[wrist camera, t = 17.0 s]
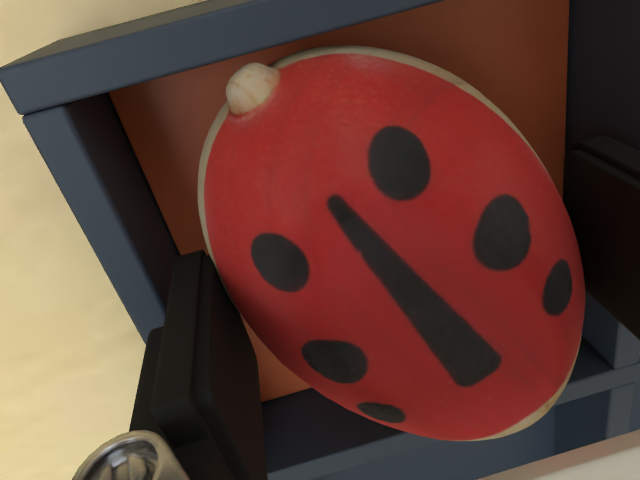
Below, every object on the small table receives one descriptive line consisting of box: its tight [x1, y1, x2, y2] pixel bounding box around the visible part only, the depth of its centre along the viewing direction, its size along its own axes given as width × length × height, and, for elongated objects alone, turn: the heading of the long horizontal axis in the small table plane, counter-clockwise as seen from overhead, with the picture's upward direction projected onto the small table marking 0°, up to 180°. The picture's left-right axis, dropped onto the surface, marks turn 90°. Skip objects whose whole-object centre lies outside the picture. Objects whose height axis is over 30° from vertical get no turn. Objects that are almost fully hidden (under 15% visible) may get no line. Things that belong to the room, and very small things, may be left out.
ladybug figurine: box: [198, 45, 585, 441], centre depth 10 cm, size 7×10×4 cm
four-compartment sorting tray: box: [0, 0, 640, 480], centre depth 14 cm, size 21×21×3 cm
